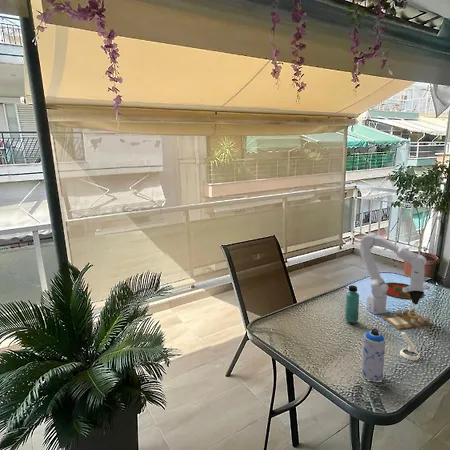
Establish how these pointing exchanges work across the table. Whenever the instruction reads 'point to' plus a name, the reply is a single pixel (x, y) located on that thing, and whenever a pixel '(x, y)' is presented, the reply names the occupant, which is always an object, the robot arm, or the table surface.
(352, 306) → the beverage bottle
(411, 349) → the hook
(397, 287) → the decorative plate
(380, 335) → the aerosol can
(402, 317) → the board
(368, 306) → the robot arm
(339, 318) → the table surface
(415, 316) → the brass nut
